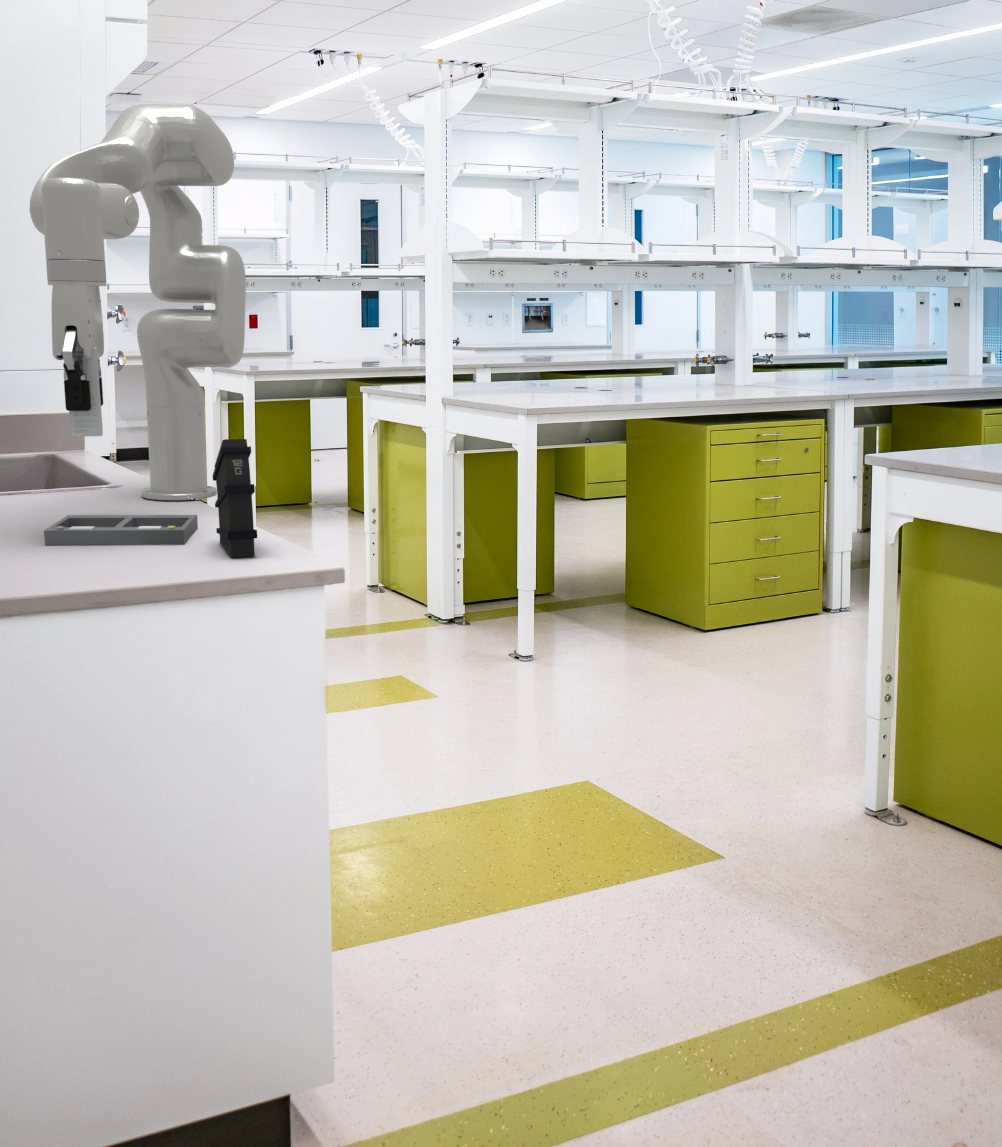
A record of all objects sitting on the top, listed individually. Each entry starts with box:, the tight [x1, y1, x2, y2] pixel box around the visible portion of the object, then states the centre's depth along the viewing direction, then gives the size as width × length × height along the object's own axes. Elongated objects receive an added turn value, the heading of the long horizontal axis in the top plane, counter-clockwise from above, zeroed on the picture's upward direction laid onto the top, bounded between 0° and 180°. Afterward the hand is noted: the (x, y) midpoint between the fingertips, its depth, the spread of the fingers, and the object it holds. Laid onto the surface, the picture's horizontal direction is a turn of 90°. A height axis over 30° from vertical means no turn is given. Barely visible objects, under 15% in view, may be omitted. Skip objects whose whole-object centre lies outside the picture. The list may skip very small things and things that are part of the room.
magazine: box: [212, 438, 258, 559], centre depth 158 cm, size 4×13×15 cm, turn 21°
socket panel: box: [43, 514, 199, 546], centre depth 168 cm, size 13×18×2 cm
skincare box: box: [68, 347, 103, 438], centre depth 163 cm, size 6×4×12 cm
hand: (85, 407), depth 164 cm, fingers closed on skincare box, 6 cm apart
